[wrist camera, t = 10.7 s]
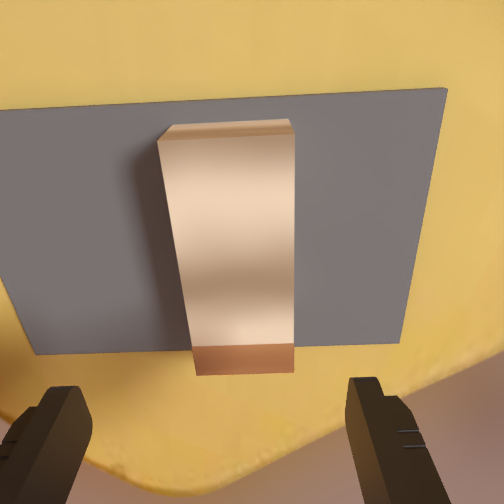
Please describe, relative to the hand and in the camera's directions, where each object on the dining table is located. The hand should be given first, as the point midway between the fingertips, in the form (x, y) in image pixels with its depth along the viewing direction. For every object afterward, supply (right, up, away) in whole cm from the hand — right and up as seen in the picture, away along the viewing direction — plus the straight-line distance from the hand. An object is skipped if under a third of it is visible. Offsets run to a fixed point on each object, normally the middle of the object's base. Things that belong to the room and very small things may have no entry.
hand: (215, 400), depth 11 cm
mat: (-1, +5, +8) cm, 10 cm away
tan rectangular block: (+1, +5, +8) cm, 9 cm away
